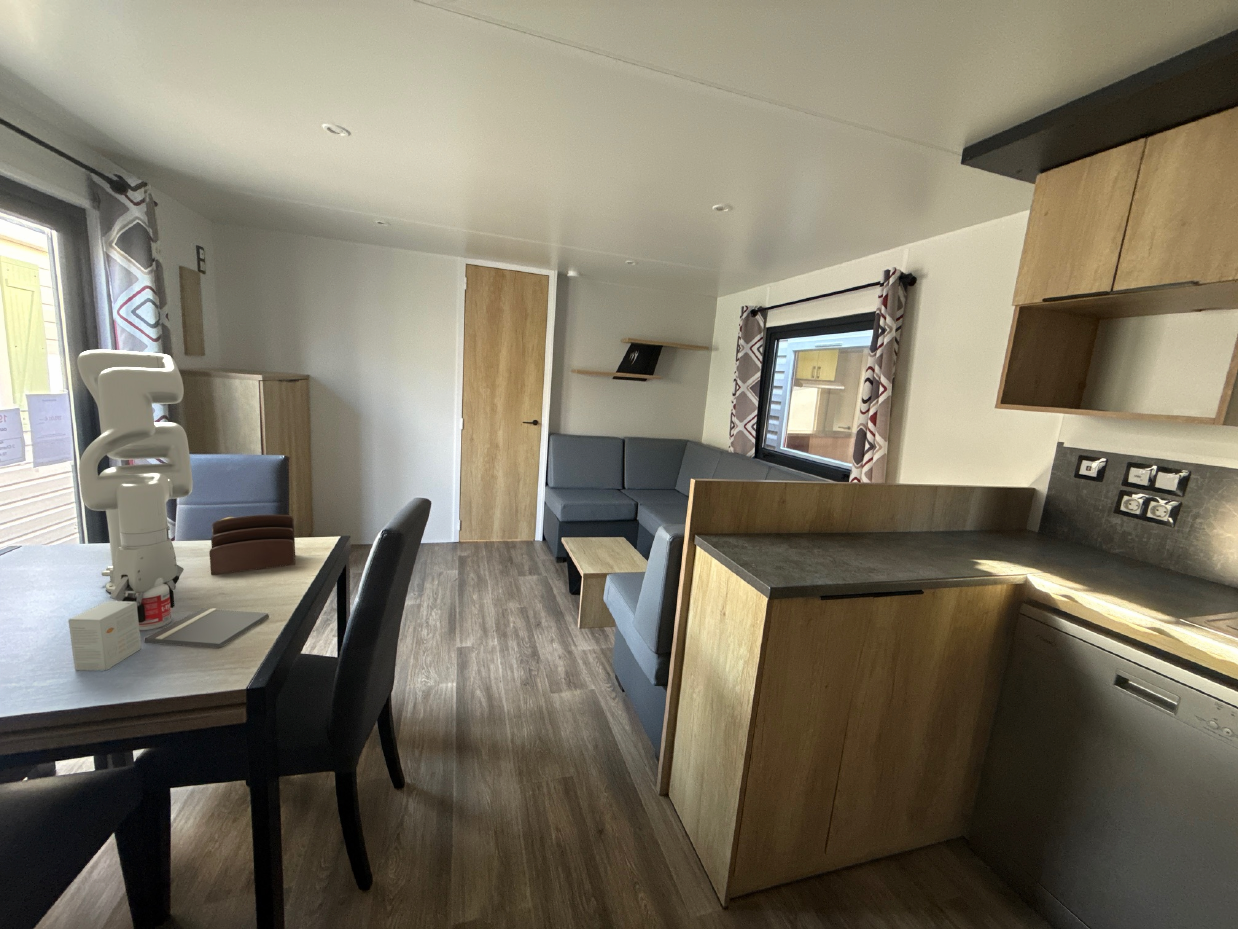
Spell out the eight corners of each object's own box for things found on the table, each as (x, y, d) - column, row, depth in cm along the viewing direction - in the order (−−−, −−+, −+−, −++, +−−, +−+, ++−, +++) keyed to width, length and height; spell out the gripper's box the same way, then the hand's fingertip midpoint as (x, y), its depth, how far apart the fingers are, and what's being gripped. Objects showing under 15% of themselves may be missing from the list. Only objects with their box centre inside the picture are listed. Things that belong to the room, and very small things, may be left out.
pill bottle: (168, 627, 109) (164, 580, 108) (130, 633, 106) (125, 585, 104) (174, 615, 114) (170, 570, 113) (138, 621, 111) (133, 575, 109)
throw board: (144, 642, 103) (144, 637, 103) (202, 612, 117) (201, 607, 117) (219, 648, 103) (219, 642, 103) (268, 617, 117) (268, 612, 117)
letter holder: (215, 563, 146) (212, 517, 143) (295, 554, 156) (293, 511, 154) (210, 575, 137) (206, 527, 135) (295, 565, 148) (293, 520, 146)
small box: (112, 648, 100) (107, 600, 99) (142, 649, 101) (137, 600, 99) (73, 671, 93) (66, 619, 91) (105, 671, 93) (99, 619, 91)
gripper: (165, 524, 116) (171, 596, 118) (84, 548, 98) (94, 632, 101) (196, 526, 115) (202, 598, 118) (121, 551, 98) (129, 635, 101)
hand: (152, 613), depth 110 cm, fingers closed on pill bottle, 6 cm apart
